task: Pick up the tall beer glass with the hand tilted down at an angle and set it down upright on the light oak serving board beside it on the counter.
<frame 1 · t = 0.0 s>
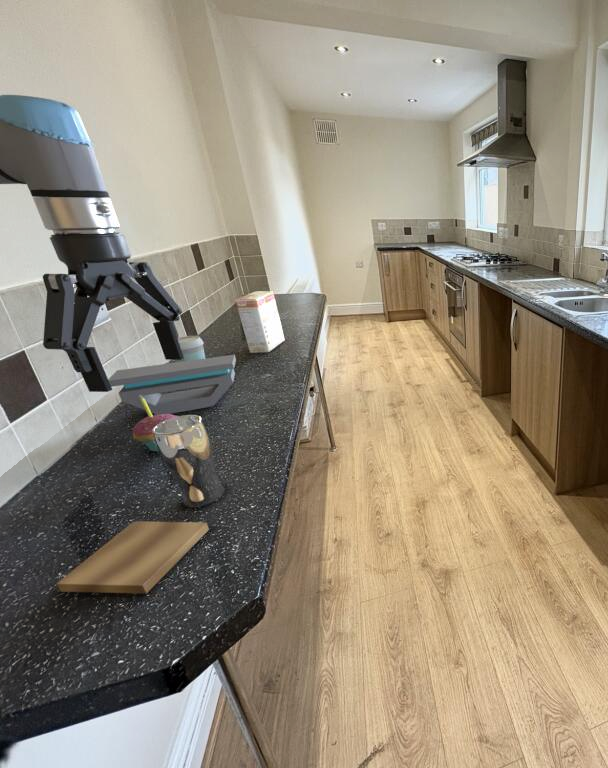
hand: (141, 373, 65), 24 cm above the countertop, tool pointing down, fingers open, 13 cm apart
grey tapered box: (189, 405, 109), on the countertop
beer glass: (204, 497, 74), on the countertop
cupcake: (165, 446, 90), on the countertop
coffeecake box: (268, 346, 155), on the countertop
coffee cup: (197, 376, 127), on the countertop
serving board: (141, 558, 61), on the countertop
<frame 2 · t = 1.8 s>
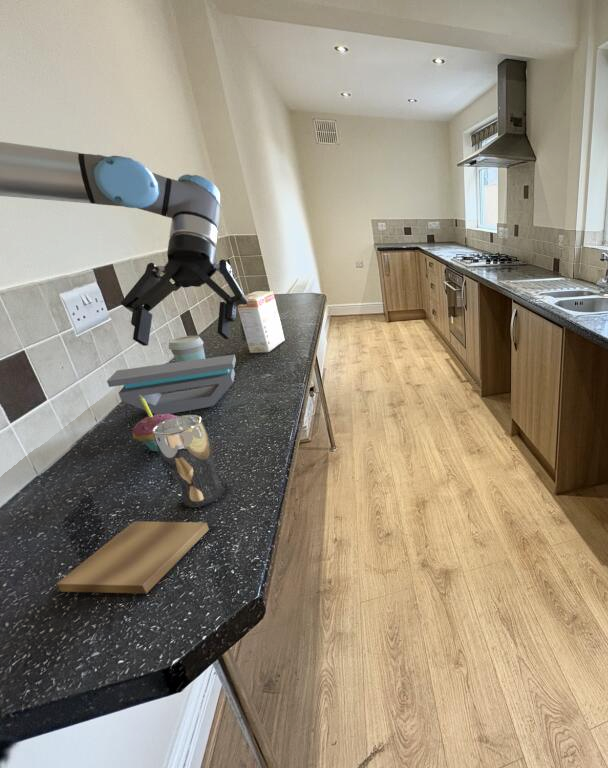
hand: (182, 339, 75), 26 cm above the countertop, tool tilted 45°, fingers open, 13 cm apart
nothing on the countertop moved.
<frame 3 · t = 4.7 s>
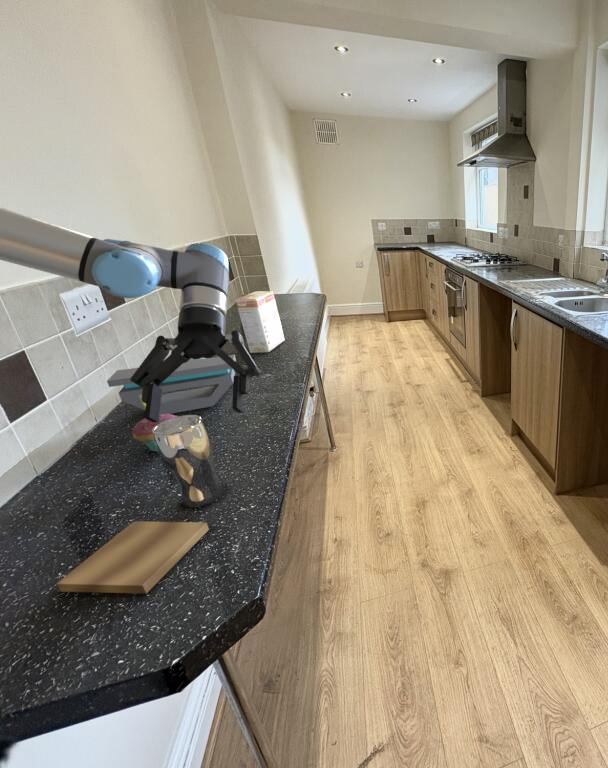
hand: (195, 415, 74), 13 cm above the countertop, tool tilted 45°, fingers open, 13 cm apart
nothing on the countertop moved.
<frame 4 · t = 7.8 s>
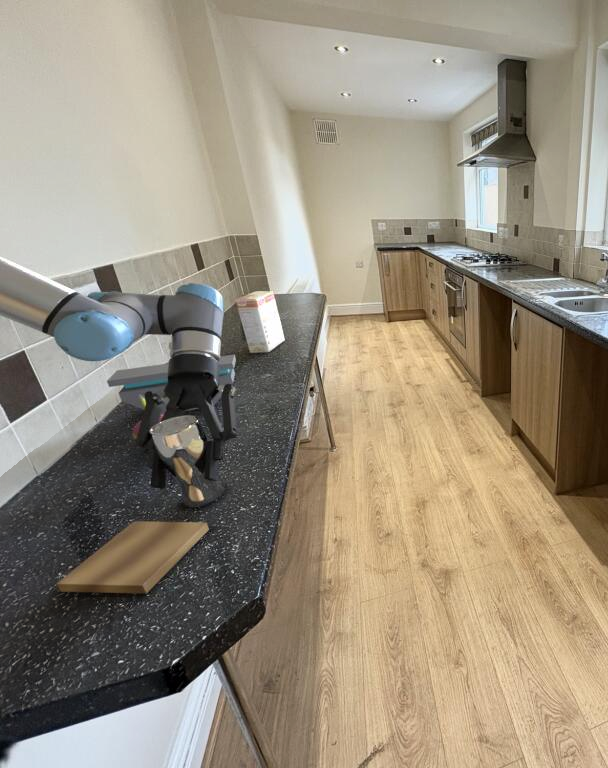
hand: (184, 483, 69), 6 cm above the countertop, tool tilted 45°, fingers closed on beer glass, 7 cm apart
beer glass: (204, 497, 74), on the countertop, touching gripper
everything else where it was.
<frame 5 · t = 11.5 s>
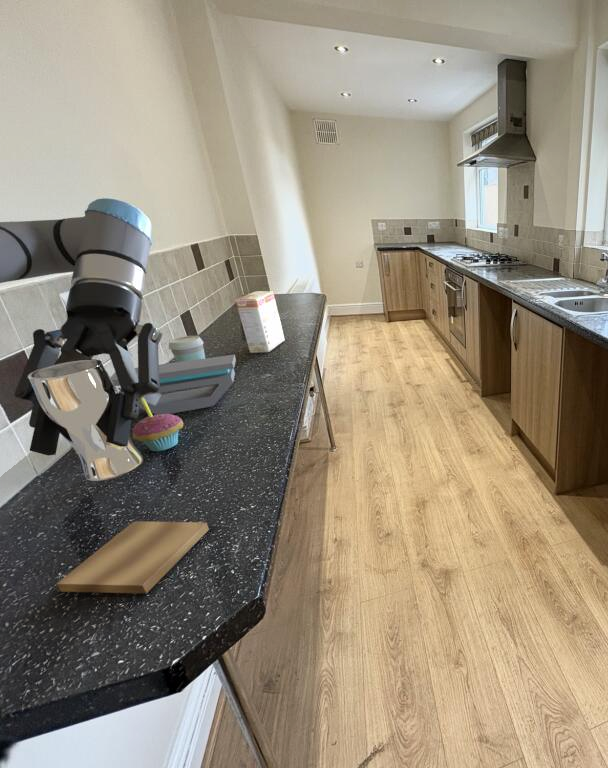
hand: (80, 447, 52), 20 cm above the countertop, tool tilted 45°, fingers closed on beer glass, 7 cm apart
beer glass: (116, 469, 57), point 14 cm above the countertop, touching gripper
everything else where it was.
when the fingers open (7 cm above the countertop, at t = 15.6 s): beer glass stays where it is, resting on serving board.
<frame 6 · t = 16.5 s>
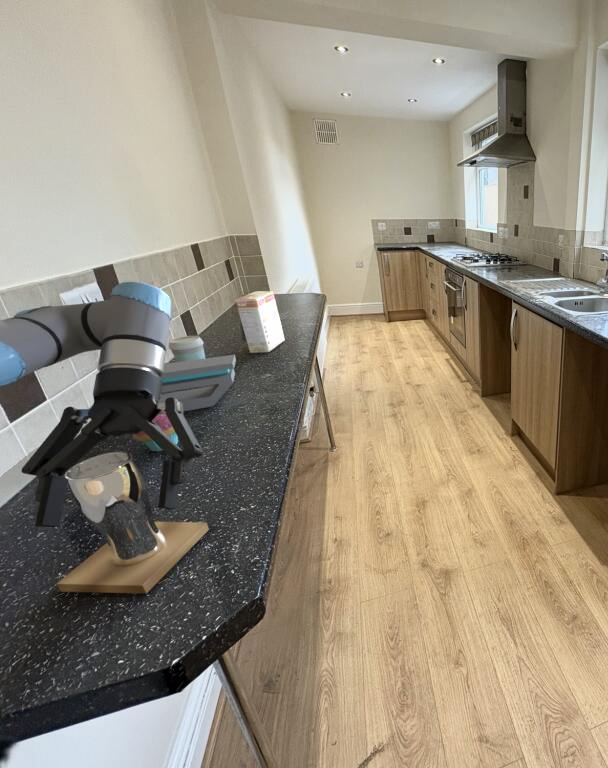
hand: (108, 517, 56), 9 cm above the countertop, tool tilted 45°, fingers open, 13 cm apart
beer glass: (140, 550, 60), point 1 cm above the countertop, touching serving board
everything else where it was.
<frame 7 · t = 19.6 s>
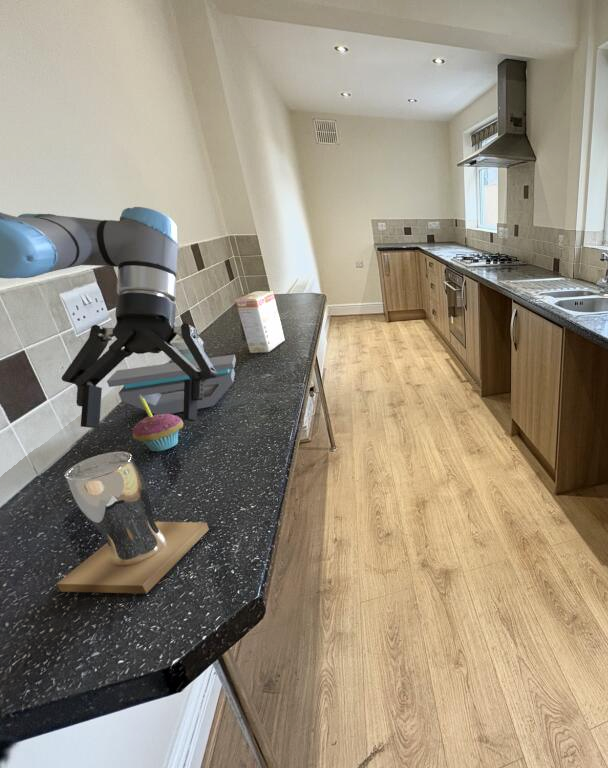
hand: (141, 423, 66), 16 cm above the countertop, tool tilted 35°, fingers open, 13 cm apart
nothing on the countertop moved.
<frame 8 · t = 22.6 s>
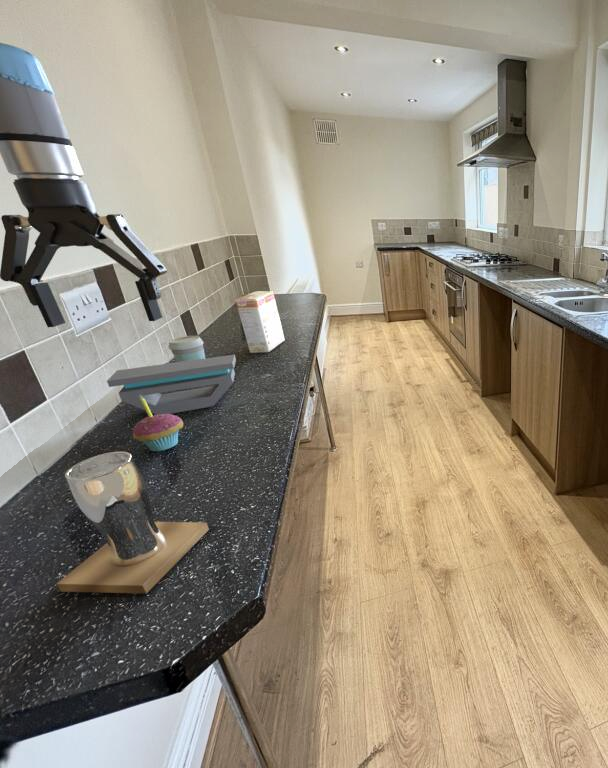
hand: (107, 322, 67), 31 cm above the countertop, tool pointing down, fingers open, 13 cm apart
nothing on the countertop moved.
at the end: beer glass 0.2 cm off-centre on the serving board, point 1.3 cm above the serving board's base; beer glass tilted 0°; the gripper is holding nothing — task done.
